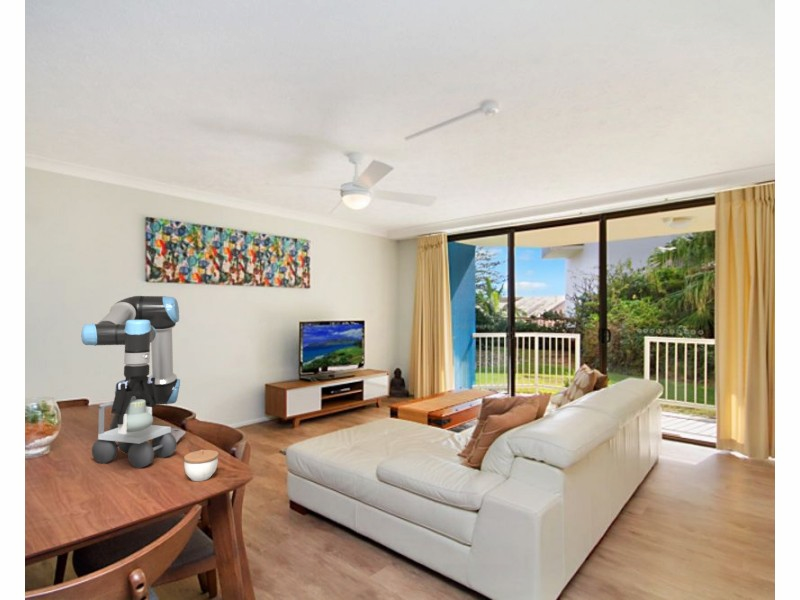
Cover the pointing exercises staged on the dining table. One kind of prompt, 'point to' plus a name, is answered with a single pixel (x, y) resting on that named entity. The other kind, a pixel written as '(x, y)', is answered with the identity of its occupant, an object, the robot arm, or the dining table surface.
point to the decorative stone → (177, 433)
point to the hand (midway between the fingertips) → (135, 429)
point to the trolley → (132, 442)
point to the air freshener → (138, 416)
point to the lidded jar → (201, 464)
